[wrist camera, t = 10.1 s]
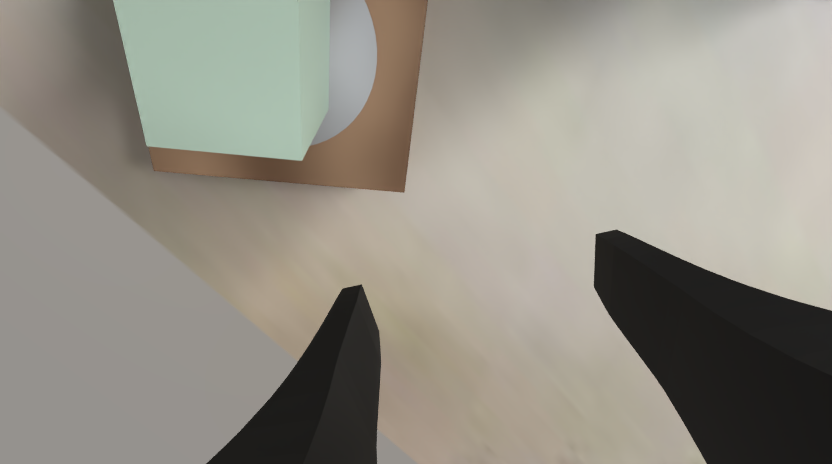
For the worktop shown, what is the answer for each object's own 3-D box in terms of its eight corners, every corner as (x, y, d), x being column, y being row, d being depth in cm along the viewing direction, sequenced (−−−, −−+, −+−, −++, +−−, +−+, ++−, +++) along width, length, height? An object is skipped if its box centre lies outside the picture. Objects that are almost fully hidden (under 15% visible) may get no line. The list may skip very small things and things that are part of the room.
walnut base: (433, -95, 15) (442, -113, 13) (402, 172, 20) (404, 194, 18) (123, -151, 13) (69, -183, 11) (179, 151, 19) (151, 172, 17)
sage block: (330, -4, 14) (298, -8, 9) (328, 109, 16) (301, 160, 11) (212, -22, 13) (104, -37, 8) (226, 97, 15) (146, 146, 10)
